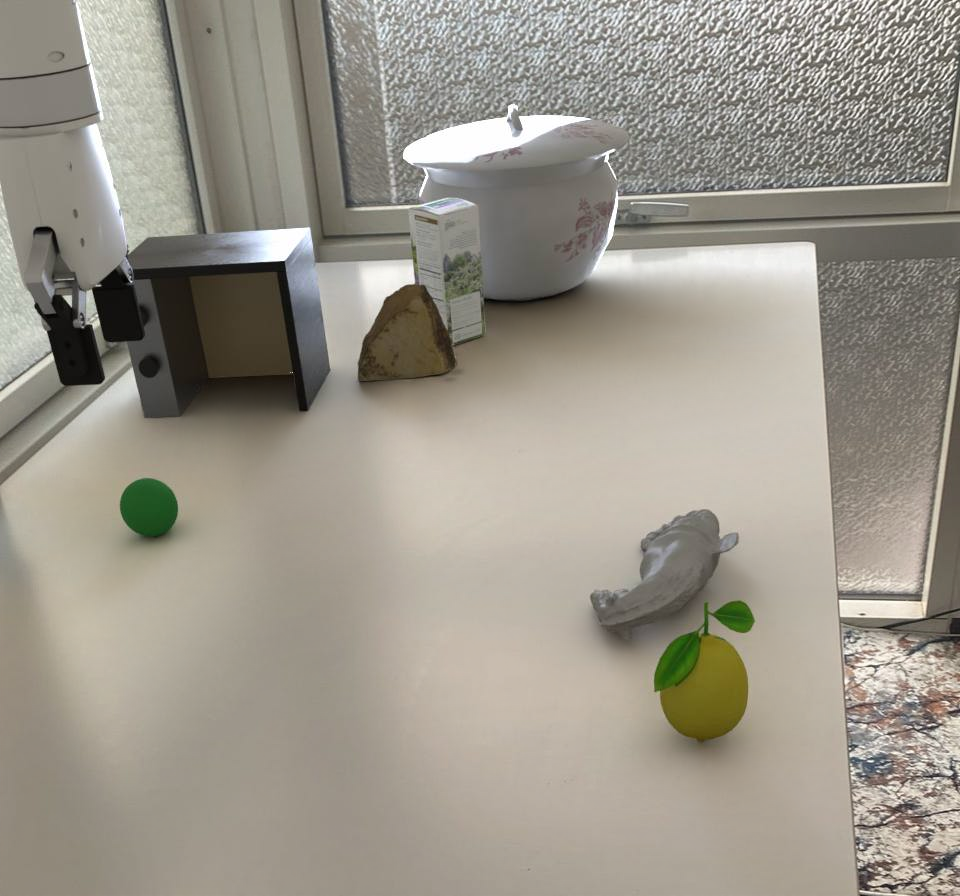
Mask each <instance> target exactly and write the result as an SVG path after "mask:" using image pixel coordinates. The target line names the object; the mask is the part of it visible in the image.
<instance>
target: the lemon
mask: <svg viewBox="0 0 960 896" xmlns="http://www.w3.org/2000/svg"><path fill="white" fill-rule="evenodd" d="M709 615H710V616H712V617H714V618H715V619H716V620H717V621H718V622H719V623H720V624H722V625H723V626H725V627H726V629H728V630H730V631H733V632H736V633H738V634H739V633H740V634H746V633H748V632H750V631H751V630H752V628H753V627H754V624H755V623H756V620H755V616H754V614H753V612H752V610H751V608H750V606H749V605H748V604H747V603H746V602H745V601H743V600H741V599H738V600H737V599H736V600H732V601H729V602H726V603H725V604H723V605H722V606H721V607H719V608H718V609H716V610H715V611H714V612H712V611H709V601H705V602H704V603H703V617H704V618H703V619H704V621H703V623H702V624H701V626H700V627H699V628H697V630H694V631H690V632H688V633H684V634H681V635H679V636H678V637H676V638H675V639H674V640H672V641H671V642H670V643H669V644H668V645H667V646H666V648H665V650H664V651H663V653H662V654H661V655H660V657H659V659H658V662H657V665H656V666H655V670H654V674H653V685H654V689H653V692H654V693H657V692H659V699H660V706H661V709H662V711H663V714H664V716H665V719H666V720H667V722H668V723H669V724H670V726H671V727H672V728H673V729H674V730H675V731H676V732H677V733H679V734H680V735H682V736H684V737H686V738H690V739H695V740H696V741H697V742H704V741H706V740H711V739H716V738H719V737H722V736H726V735H727V734H728V733H730V732H731V731H733V730H734V729H735V728H736V727H737V726H738V725H739V723H740V722H741V721H742V719H743V717H744V715H745V713H746V710H747V707H748V699H749V677H748V673H747V669H746V666H745V662H744V661H743V658H742V657H741V655H740V654H739V652H738V650H737V649H736V647H735V646H734V645H733V644H731V642H729V641H728V640H726V639H725V638H724V637H722V636H719V635H718V634H713V633H710V632H709ZM702 629H703V632H700V631H702Z"/></svg>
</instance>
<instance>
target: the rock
mask: <svg viewBox="0 0 960 896" xmlns="http://www.w3.org/2000/svg"><path fill="white" fill-rule="evenodd" d="M361 344H362V345H361V348H360V349H361V351H360V355H359V357H358V361H357V367H358V368H357V380H358V382H370V381H371V382H372V381H392V380H399V379H414V378H422V377H427V376H436V375H441V374H446V373H447V372H449V371H450V370H452V369H453V368H455V366H456V364H457V363H458V359H457V357H456V354H455V349H454V348H453V347H454V346H452V344H451V339H450V335H449V332H448V330H447V329H446V327H445V325H444V323H443V320H442V317H441V316H440V313H439V311H438V308H437V306H436V304H435V302H434V301H433V298H432V296H431V295H430V294H429V292H428V291H427V288H426V286H425V285H419V286H416V285H415V283H412V284H405V285H404V286H401V287H400V288H399V289H398V290H395V291H394V292H393V293H391V294H390V295H387V296H386V297H385V298H384V300H383V303H382V306H381V308H380V310H379V311H378V314H377V315H376V317H375V319H374V322H373V323H372V326H371V327H370V330H369V331H368V332H367V333H366V334H365V335H364V337H363V340H362V343H361Z"/></svg>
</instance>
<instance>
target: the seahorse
mask: <svg viewBox="0 0 960 896" xmlns="http://www.w3.org/2000/svg"><path fill="white" fill-rule="evenodd" d="M720 532H721V531H720V522H719V519H718V517H717V515H716V514H715V513H713V512H712V510H710V509H707V508H701V509H699V510H691V511H689V512H687V513H686V514H685V515H680V514H679V515H675V516H674V518H672V520H671V521H670V522H667V523H662V525H661V527H659V528H657V529H655V530H653V531H650V532H648V533H647V534H646V535H645V537H644V538H642V539H641V541H640V549H641V551H642V552H644V554H643V557H642V559H641V562H640V566H639V575H640V579H641V581H640V582H639V583H638V584H636V585H635V586H634V587H632V588H631V589H629V590H628V589H625V588H621V589H616V590H614V591H613V592H612V591H610V590H609V589H603V590H598V589H596V588H595V589H594V591H593V592H591V593H590V595H589V599H590V603H591V606H592V608H593V609H594V611H595V612H596V613H597V616H598V621H599V622H600V626H601V627H604V628H605V630H606V631H607V632H609V633H610V632H611V633H613V632H617V634H618V635H619V636H620V637H621V638H623V639H624V640H625V641H630V640H631V629H635V628H639V627H642V626H645V625H648V624H652V623H655V622H656V621H658V620H660V619H662V618H664V617H667V616H669V615H672V614H674V613H677V612H679V611H680V610H681V609H682V608H683V607H684V606H685V605H686V604H687V603H688V602H689V601H691V600H692V598H694V596H696V595H697V594H698V593H699V592H700V591H701V590H703V588H704V587H705V586H706V585H707V584H708V582H709V580H710V579H712V577H713V575H714V573H715V571H716V570H717V567H718V564H719V561H720V558H721V557H720V556H721V554H723V553H727V552H729V551H731V550H733V548H735V547H736V546H737V545H738V544H739V540H740V538H739V537H740V536H739V533H738V532H730V533H727V534H725V535H723V536H722V537H720Z"/></svg>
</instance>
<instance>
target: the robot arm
mask: <svg viewBox="0 0 960 896" xmlns="http://www.w3.org/2000/svg"><path fill="white" fill-rule="evenodd" d="M91 62H92V61H91V56H90V52H89V47H88V43H87V38H86V35H85V29H84V25H83V21H82V15H81V11H80V7H79V1H78V0H0V189H1V196H2V200H3V203H4V210H5V214H6V218H7V223H8V224H7V225H8V228H9V234H10V237H11V242H12V246H13V250H14V254H15V259H16V261H17V262H16V263H17V267H18V270H19V271H18V272H19V274H20V279H21V283H22V285H23V287H24V288H25V290H26V291H27V292H29V293H30V295H31V296H32V299H33V302H34V304H33V307H34V309H35V310H36V313H37V314H38V315H39V316H40V320H41V326H42V328H43V330H44V331H46V334H47V339H48V341H49V345H50V349H51V352H52V356H53V360H54V364H55V366H56V371H57V375H58V378H59V382H60V384H61V385H62V386H66V387H72V386H74V387H75V386H96V385H101V384H102V383H103V382H104V381H105V380H106V374H105V370H104V367H103V362H102V359H101V355H100V350H99V346H98V343H97V338H96V335H95V331H94V327H93V324H91V323H90V324H87V292H88V291H91V293H92V296H93V300H94V304H95V309H96V313H97V317H98V320H99V325H100V329H101V333H102V337H103V340H104V341H105V342H107V343H121V342H122V343H123V342H127V341H141V340H142V339H143V338H144V337H145V331H144V326H143V322H142V317H141V313H140V308H139V304H138V300H137V295H136V291H135V286H134V284H132V285H127V284H129V283H133V280H134V276H133V271H132V268H131V266H130V265H129V263H128V254H129V253H130V249H129V245H128V242H127V236H126V230H125V225H124V216H123V213H122V210H121V206H120V202H119V197H118V194H117V190H116V186H115V181H114V178H113V175H112V171H111V168H110V163H109V161H108V157H107V154H106V149H105V146H104V143H103V140H102V137H101V134H100V131H99V126H98V124H99V123H101V122H102V121H104V119H105V118H104V114H103V110H102V105H101V100H100V96H99V91H98V87H97V83H96V79H95V78H96V77H95V73H94V70H93V65H92V63H91ZM64 296H66V297H67V296H68V297H69V296H71V305H70V304H69V303H68V302H67V300H66V299H65V297H64Z"/></svg>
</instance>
